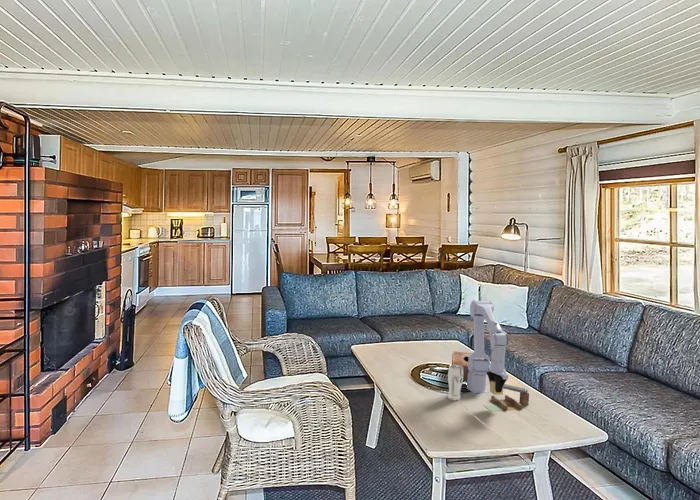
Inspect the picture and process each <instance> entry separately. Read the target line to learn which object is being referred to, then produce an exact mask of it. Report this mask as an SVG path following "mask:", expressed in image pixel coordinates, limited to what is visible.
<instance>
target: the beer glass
mask: <svg viewBox="0 0 700 500" xmlns="http://www.w3.org/2000/svg"><path fill="white" fill-rule="evenodd" d="M463 375H464V371H463V366H460V365H452V364H450V365H448V371H447V381H448V394H447V399H448V400H450V401H454V402H459V400H461V399H462V395H461V393H462V392H461V390H462V386H463V385H462V383H463Z"/></svg>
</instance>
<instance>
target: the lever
mask: <svg viewBox="0 0 700 500" xmlns="http://www.w3.org/2000/svg"><path fill="white" fill-rule="evenodd" d="M503 390H509V391H513V392H517V393H520V392H521V393H529V391H528V389H527V388H524V387H520V386H515V385H510V384H506V383H504V386H503Z"/></svg>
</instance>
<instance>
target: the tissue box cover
mask: <svg viewBox="0 0 700 500" xmlns="http://www.w3.org/2000/svg"><path fill="white" fill-rule="evenodd" d="M472 353H473V352H465V351H454V350H452V357H451V358H452V359H451V365H460V366H463V371H464V375H463V381H466V382H467V376H468V373H469V370H468V357H469V356H470V355H471V354H472ZM476 359H481V358H476Z"/></svg>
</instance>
